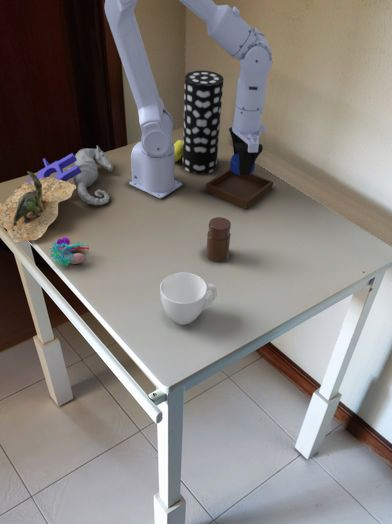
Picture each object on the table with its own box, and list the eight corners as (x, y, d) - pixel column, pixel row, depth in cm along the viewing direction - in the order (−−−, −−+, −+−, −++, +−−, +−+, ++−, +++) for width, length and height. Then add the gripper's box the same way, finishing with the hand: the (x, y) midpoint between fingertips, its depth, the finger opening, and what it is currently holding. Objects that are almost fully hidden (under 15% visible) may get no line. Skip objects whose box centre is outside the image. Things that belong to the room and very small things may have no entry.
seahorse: (130, 196, 107) (107, 140, 117) (77, 193, 102) (58, 135, 112) (124, 214, 111) (103, 159, 121) (73, 212, 106) (55, 155, 116)
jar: (201, 256, 97) (203, 224, 92) (213, 245, 100) (215, 213, 94) (221, 265, 96) (224, 232, 90) (232, 253, 98) (236, 221, 93)
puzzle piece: (85, 181, 106) (81, 176, 104) (37, 208, 107) (33, 204, 106) (72, 148, 109) (68, 143, 108) (26, 175, 111) (22, 170, 109)
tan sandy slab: (-37, 208, 98) (-12, 236, 104) (5, 220, 90) (29, 250, 96) (23, 151, 104) (43, 181, 110) (67, 157, 97) (86, 189, 102)
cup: (154, 307, 87) (153, 277, 82) (206, 294, 90) (208, 265, 85) (169, 337, 83) (169, 308, 77) (223, 323, 85) (227, 294, 80)
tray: (205, 191, 113) (205, 184, 112) (232, 172, 119) (233, 165, 118) (246, 209, 109) (247, 202, 108) (272, 189, 115) (273, 181, 114)
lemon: (172, 143, 125) (181, 156, 127) (162, 155, 119) (172, 168, 121) (184, 133, 122) (193, 147, 124) (174, 146, 117) (184, 159, 119)
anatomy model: (90, 225, 95) (53, 222, 94) (86, 251, 89) (47, 248, 88) (90, 247, 98) (55, 244, 97) (86, 273, 93) (49, 270, 92)
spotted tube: (200, 153, 125) (205, 67, 110) (223, 167, 121) (231, 79, 106) (175, 163, 121) (176, 76, 106) (198, 177, 117) (203, 88, 102)
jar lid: (256, 175, 109) (257, 164, 107) (232, 176, 108) (233, 165, 106) (251, 163, 113) (252, 152, 111) (228, 164, 112) (229, 153, 110)
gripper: (277, 120, 96) (266, 184, 106) (260, 90, 105) (252, 151, 115) (241, 121, 95) (234, 185, 105) (228, 90, 104) (222, 152, 115)
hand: (241, 168), depth 110 cm, fingers closed on jar lid, 5 cm apart
